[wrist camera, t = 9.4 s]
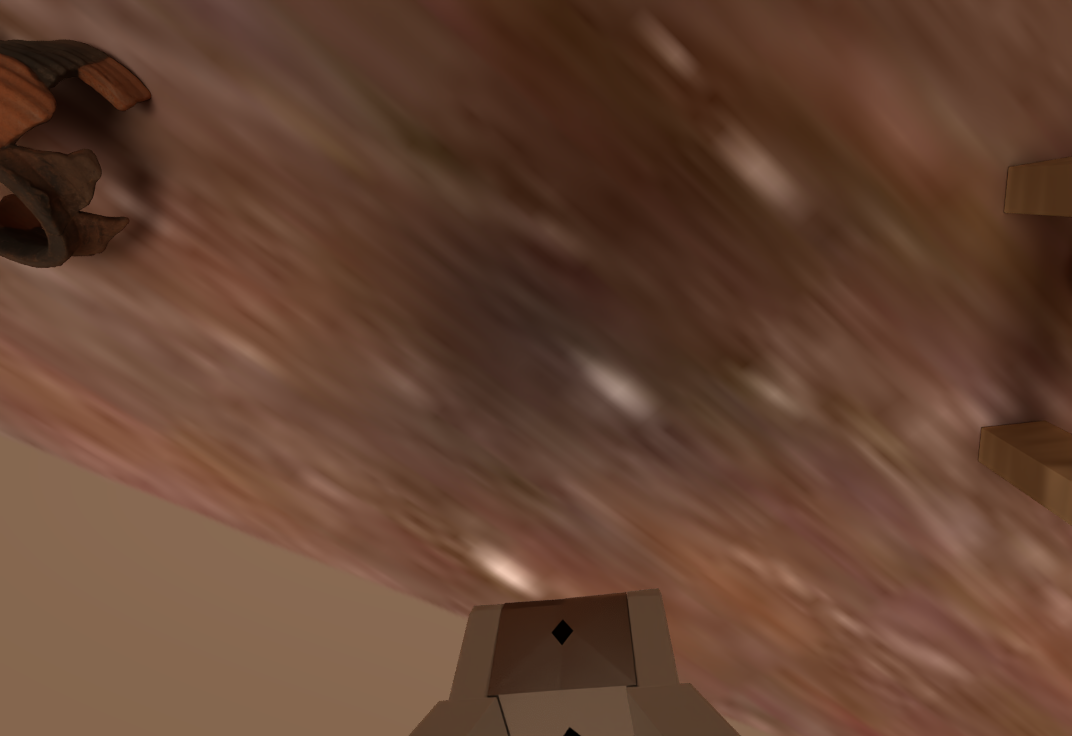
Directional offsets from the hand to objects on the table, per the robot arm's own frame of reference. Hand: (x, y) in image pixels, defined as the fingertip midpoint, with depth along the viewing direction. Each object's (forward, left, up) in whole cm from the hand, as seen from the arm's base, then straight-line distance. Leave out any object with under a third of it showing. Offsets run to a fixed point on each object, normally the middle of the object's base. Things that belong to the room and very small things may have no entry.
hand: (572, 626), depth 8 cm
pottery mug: (-13, -24, -21) cm, 35 cm away
